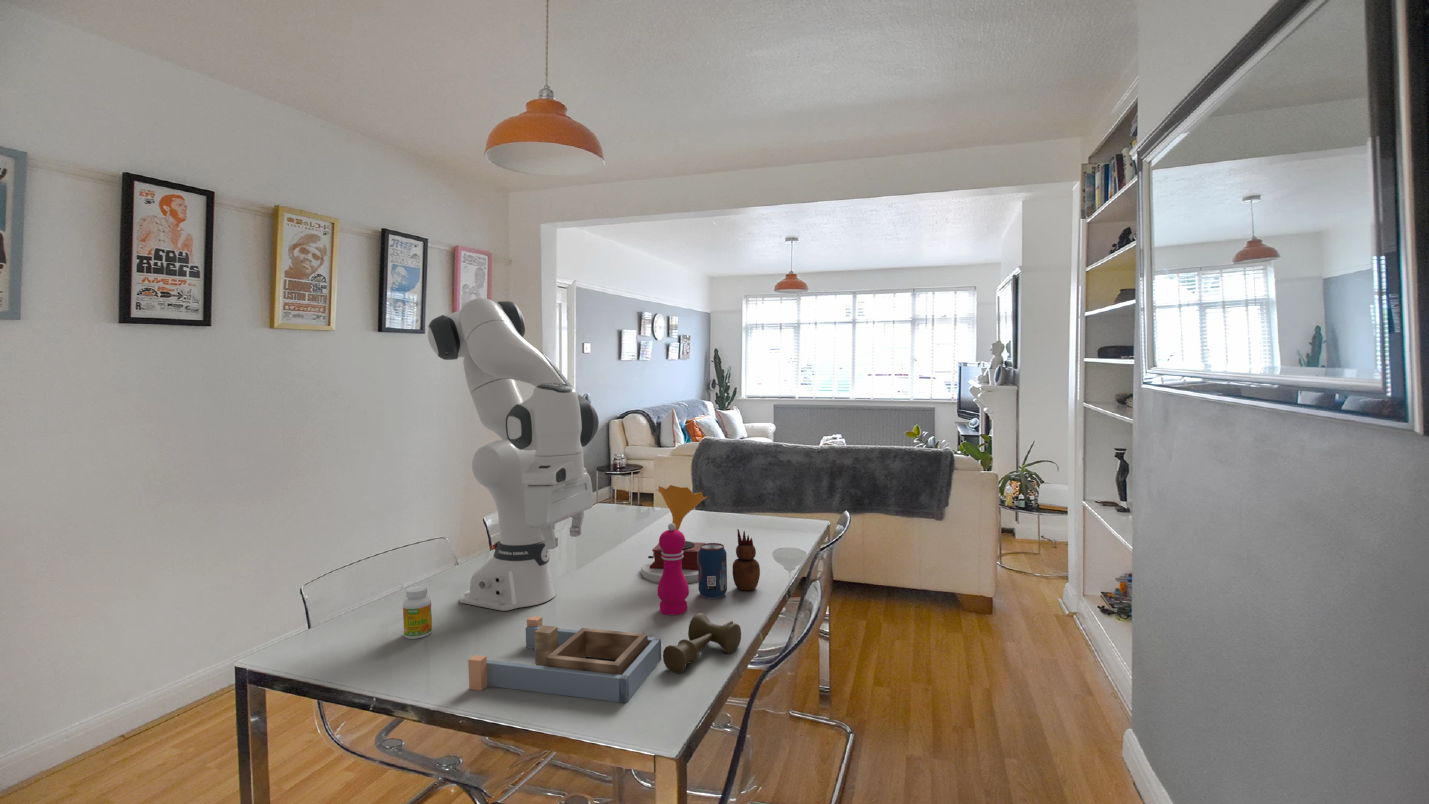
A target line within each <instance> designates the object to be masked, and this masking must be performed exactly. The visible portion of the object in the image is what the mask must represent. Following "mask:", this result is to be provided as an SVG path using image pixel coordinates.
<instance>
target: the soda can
mask: <svg viewBox="0 0 1429 804" xmlns="http://www.w3.org/2000/svg"><path fill="white" fill-rule="evenodd" d="M727 555H728V554H727V551H726V549H725V545H724V544H722V543H717V542H706V543H705V544H702V545H701V546H700V550H699V552H698V581H697V582H698V592H699V594H700V595H701V597H703V598H705V599H710V600H711V599H712V600H713V599H721V598H723V597H724V596H725V594H726V593H727V591H728V572H727V571H728V569H727V568H728V566H727V565H728V564H727V563H728V562H727V561H728V560H727Z"/></svg>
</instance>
